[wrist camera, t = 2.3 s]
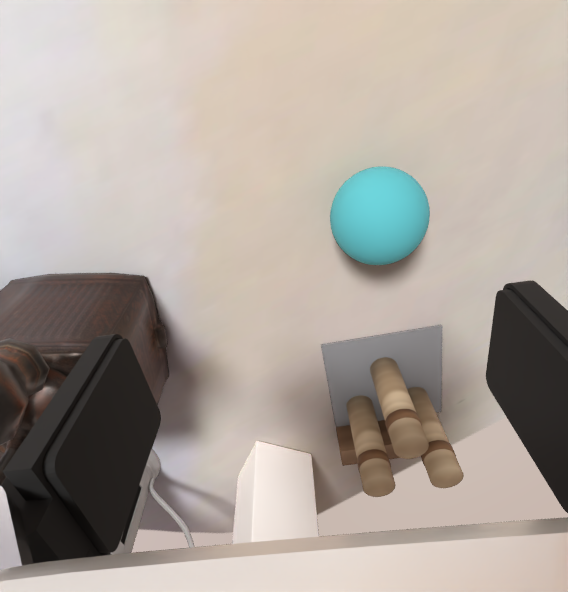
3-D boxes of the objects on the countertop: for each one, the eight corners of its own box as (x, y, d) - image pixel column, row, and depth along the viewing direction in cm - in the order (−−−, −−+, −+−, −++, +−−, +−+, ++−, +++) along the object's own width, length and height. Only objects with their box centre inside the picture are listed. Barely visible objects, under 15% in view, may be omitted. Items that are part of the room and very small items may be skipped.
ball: (319, 166, 27) (330, 193, 21) (411, 148, 26) (445, 171, 21) (331, 249, 30) (343, 290, 24) (414, 234, 29) (444, 272, 24)
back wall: (335, 425, 39) (339, 451, 36) (429, 411, 38) (441, 437, 36) (338, 439, 40) (342, 465, 37) (430, 426, 39) (440, 451, 37)
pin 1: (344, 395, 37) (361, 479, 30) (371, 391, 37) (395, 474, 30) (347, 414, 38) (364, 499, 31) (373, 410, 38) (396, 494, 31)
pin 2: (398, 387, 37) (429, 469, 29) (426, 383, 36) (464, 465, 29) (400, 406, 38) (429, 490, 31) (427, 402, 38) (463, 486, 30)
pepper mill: (178, 377, 36) (104, 623, 20) (52, 380, 36) (-119, 630, 20) (143, 206, 28) (-23, 396, 12) (-19, 210, 28) (-392, 406, 12)
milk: (290, 486, 44) (301, 814, 25) (236, 475, 43) (207, 810, 24) (312, 452, 41) (344, 793, 22) (255, 438, 40) (238, 787, 21)
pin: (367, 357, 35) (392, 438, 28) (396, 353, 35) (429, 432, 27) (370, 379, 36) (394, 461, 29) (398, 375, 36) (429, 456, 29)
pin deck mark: (320, 344, 34) (321, 346, 34) (441, 324, 33) (442, 326, 33) (335, 425, 39) (335, 427, 39) (440, 410, 38) (441, 411, 38)
